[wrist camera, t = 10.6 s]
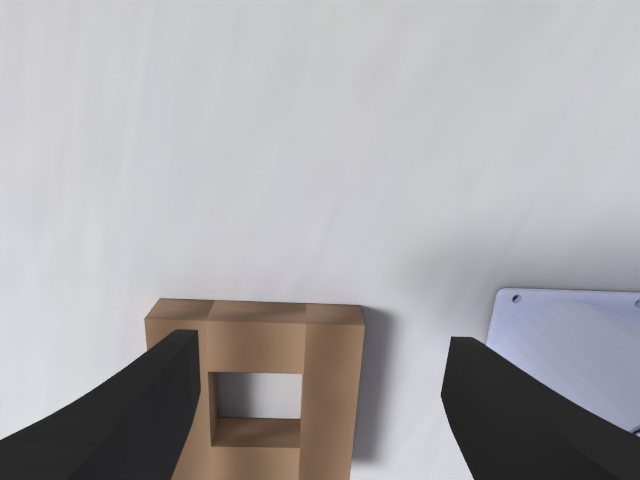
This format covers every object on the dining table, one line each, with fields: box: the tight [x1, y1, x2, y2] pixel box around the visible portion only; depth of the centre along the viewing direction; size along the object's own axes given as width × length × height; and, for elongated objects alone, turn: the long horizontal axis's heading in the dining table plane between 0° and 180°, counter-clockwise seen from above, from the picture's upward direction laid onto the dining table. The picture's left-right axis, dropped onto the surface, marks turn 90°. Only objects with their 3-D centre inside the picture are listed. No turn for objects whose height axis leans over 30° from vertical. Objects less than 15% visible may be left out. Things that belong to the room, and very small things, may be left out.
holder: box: [144, 299, 365, 480], centre depth 23 cm, size 11×11×2 cm
